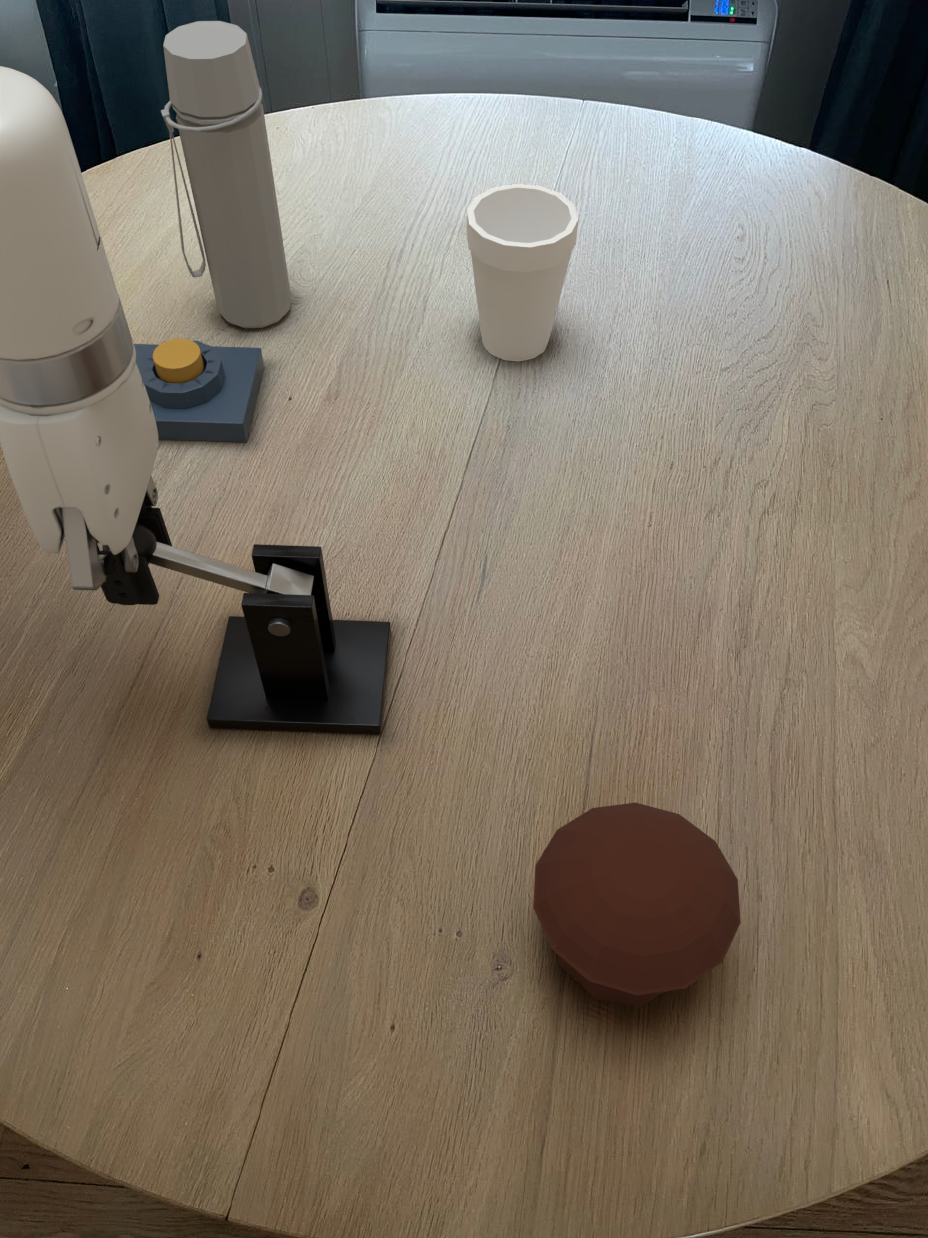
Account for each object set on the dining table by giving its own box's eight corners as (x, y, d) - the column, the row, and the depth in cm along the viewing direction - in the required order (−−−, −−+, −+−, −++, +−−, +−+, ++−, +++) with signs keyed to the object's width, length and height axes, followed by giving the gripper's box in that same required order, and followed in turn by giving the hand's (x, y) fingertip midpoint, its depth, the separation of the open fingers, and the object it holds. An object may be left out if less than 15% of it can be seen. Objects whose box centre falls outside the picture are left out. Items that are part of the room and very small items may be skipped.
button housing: (108, 438, 90) (96, 402, 87) (135, 362, 96) (123, 326, 93) (247, 442, 90) (239, 407, 86) (264, 366, 96) (258, 330, 92)
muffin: (690, 839, 68) (722, 765, 60) (741, 1012, 61) (784, 955, 53) (511, 863, 67) (519, 791, 59) (543, 1041, 60) (557, 987, 52)
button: (152, 383, 89) (147, 367, 87) (162, 353, 91) (157, 337, 90) (199, 385, 89) (195, 369, 87) (207, 354, 91) (204, 338, 90)
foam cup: (546, 382, 95) (558, 257, 84) (451, 358, 96) (451, 233, 86) (576, 321, 100) (590, 196, 90) (485, 299, 102) (489, 175, 91)
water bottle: (284, 279, 104) (243, 11, 83) (302, 326, 99) (263, 56, 79) (191, 296, 102) (127, 27, 82) (205, 345, 97) (141, 73, 77)
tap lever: (92, 572, 64) (101, 541, 61) (105, 533, 66) (114, 502, 63) (295, 631, 68) (311, 605, 65) (301, 593, 70) (317, 565, 67)
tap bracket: (209, 728, 73) (173, 629, 63) (231, 625, 78) (200, 518, 68) (380, 735, 72) (370, 636, 63) (391, 630, 78) (382, 525, 68)
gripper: (25, 243, 57) (113, 481, 71) (-81, 456, 47) (47, 681, 61) (162, 247, 56) (222, 484, 71) (85, 461, 47) (173, 686, 61)
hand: (140, 574), depth 66 cm, fingers closed on tap lever, 3 cm apart
